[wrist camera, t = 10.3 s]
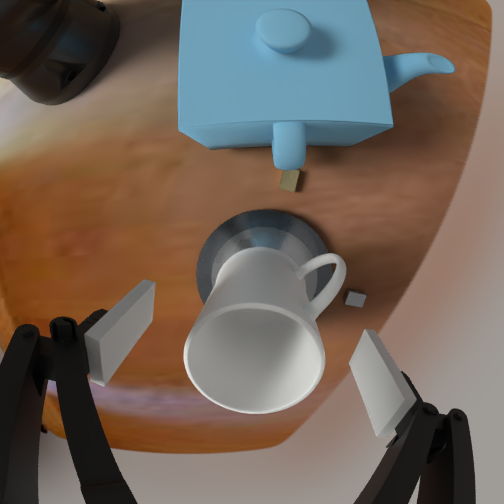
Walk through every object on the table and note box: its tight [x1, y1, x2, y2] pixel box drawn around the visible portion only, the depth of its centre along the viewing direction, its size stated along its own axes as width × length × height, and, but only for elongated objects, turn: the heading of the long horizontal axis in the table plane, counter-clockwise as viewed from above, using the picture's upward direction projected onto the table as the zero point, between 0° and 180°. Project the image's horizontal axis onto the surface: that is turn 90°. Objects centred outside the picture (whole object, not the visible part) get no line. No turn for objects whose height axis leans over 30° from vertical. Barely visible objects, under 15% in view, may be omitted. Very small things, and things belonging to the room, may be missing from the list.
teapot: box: [178, 0, 455, 170], centre depth 16 cm, size 18×16×13 cm
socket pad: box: [196, 170, 367, 308], centre depth 26 cm, size 21×17×1 cm
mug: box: [184, 247, 346, 414], centre depth 20 cm, size 12×8×12 cm
